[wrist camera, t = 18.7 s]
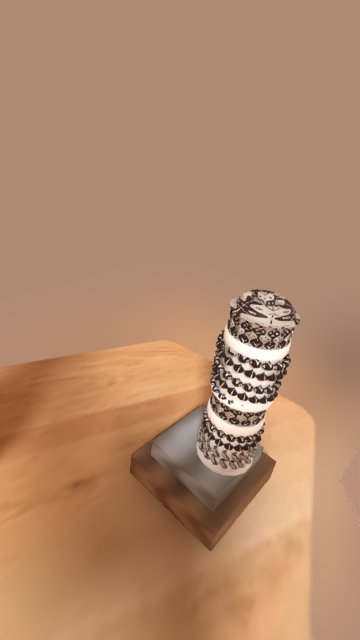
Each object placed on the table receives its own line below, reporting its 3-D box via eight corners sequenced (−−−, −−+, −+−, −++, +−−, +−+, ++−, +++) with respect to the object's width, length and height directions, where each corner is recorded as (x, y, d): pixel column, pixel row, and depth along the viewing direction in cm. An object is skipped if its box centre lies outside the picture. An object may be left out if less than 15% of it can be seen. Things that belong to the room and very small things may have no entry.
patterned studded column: (182, 456, 49) (214, 298, 37) (209, 418, 56) (244, 276, 44) (241, 491, 45) (298, 328, 33) (263, 445, 52) (315, 299, 41)
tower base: (130, 471, 53) (133, 440, 50) (195, 422, 64) (201, 393, 61) (210, 551, 45) (220, 519, 41) (269, 478, 56) (281, 448, 52)
